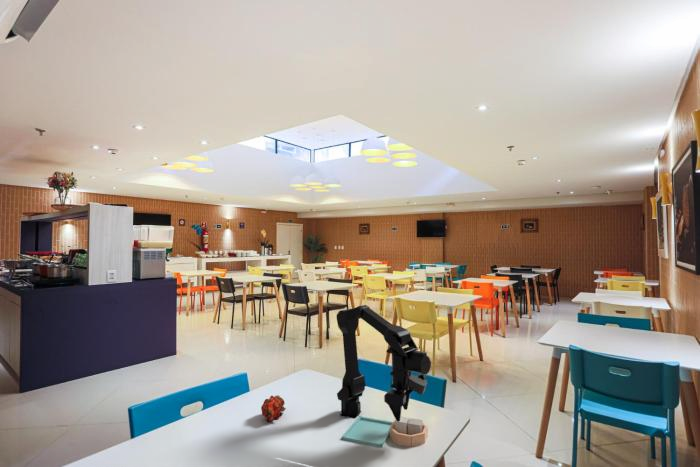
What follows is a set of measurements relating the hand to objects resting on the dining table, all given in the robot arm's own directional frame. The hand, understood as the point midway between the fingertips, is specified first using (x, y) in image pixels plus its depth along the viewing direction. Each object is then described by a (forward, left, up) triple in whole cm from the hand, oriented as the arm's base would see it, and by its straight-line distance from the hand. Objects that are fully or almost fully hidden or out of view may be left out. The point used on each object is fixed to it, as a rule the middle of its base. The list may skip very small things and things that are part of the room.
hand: (402, 415), depth 123 cm
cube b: (+4, 0, -6) cm, 8 cm away
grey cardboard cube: (0, 0, -6) cm, 7 cm away
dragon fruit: (-49, -4, -7) cm, 50 cm away
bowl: (+2, 0, -7) cm, 7 cm away
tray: (-11, -1, -7) cm, 13 cm away
